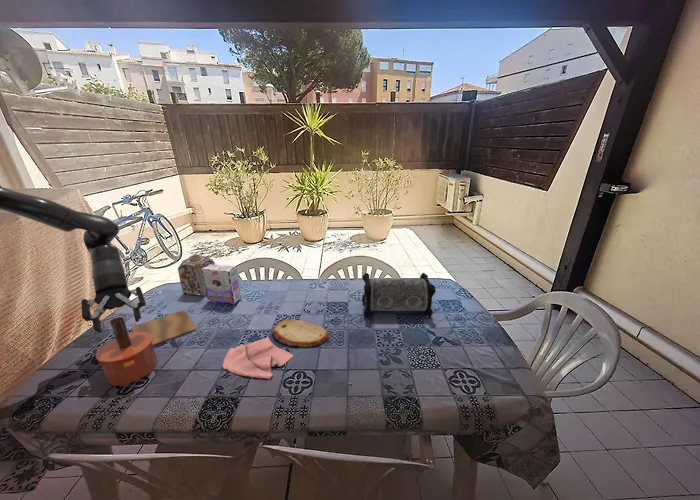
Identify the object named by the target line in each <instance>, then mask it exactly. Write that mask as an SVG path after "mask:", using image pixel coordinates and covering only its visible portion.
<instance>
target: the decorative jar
mask: <svg viewBox="0 0 700 500" xmlns="http://www.w3.org/2000/svg"><path fill="white" fill-rule="evenodd" d="M210 264H213V265H216V263H215V261H214V260H213V259H212V258H210V257H209V256H205V255H201V254H192V255H190V256H188V258H186V259H184V260H182V261H181V263H180V264H179V266H178V267H177V271H178V278H179V282H180V286H181V291H182V294H183V293H187V294H186V295H190V294H200V295H205V294H206V288H205V284H204V279H203V274H202V268H204V267H206V266H208V265H210ZM200 295H199V296H200ZM206 295H207V294H206ZM206 295H205V296H206Z"/></svg>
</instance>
